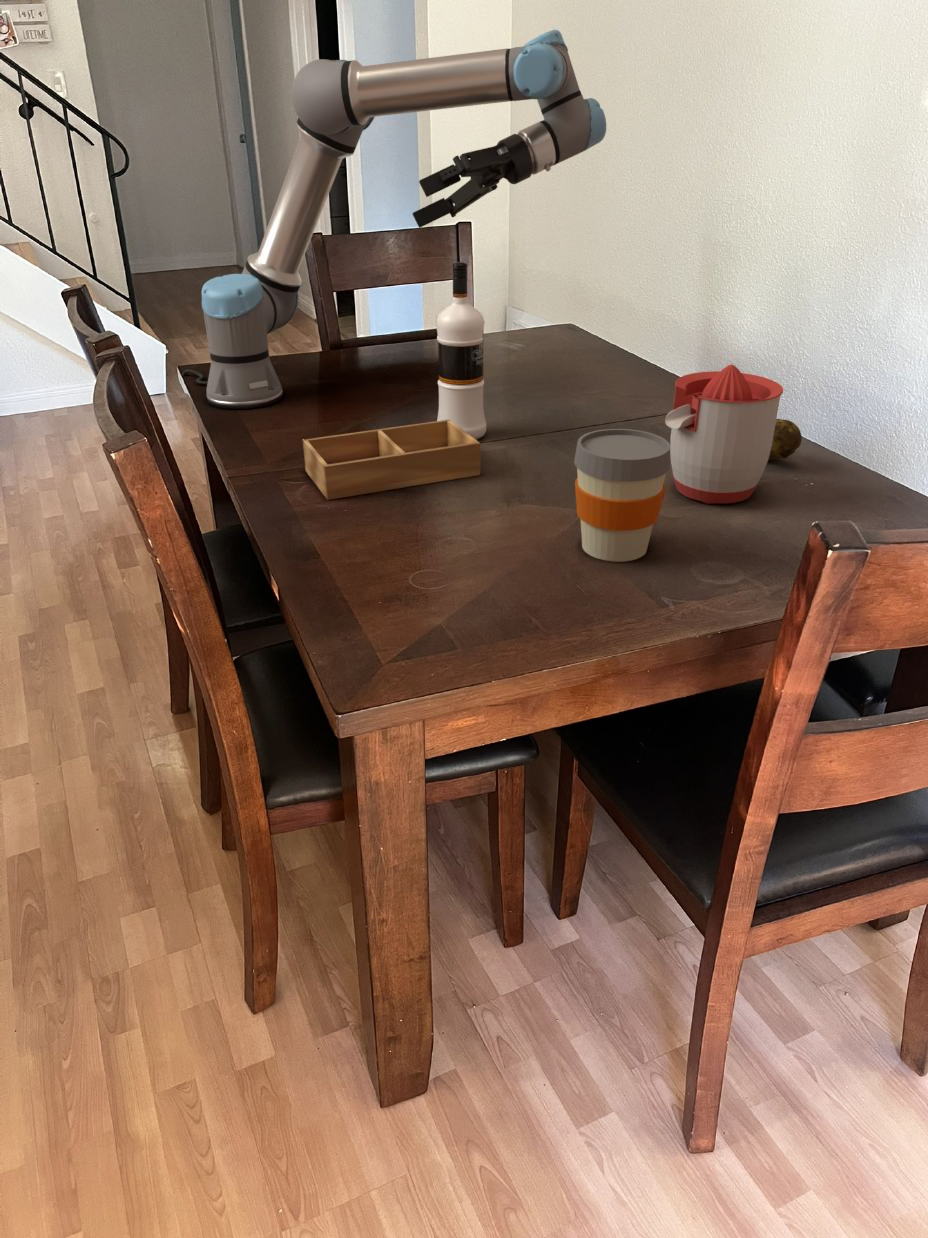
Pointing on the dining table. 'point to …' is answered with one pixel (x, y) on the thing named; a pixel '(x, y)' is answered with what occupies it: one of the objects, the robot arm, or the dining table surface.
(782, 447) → the potato
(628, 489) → the reusable coffee cup
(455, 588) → the dining table surface
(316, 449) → the wooden divided tray
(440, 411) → the vodka
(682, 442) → the citrus juicer
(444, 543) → the dining table surface
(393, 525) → the dining table surface
